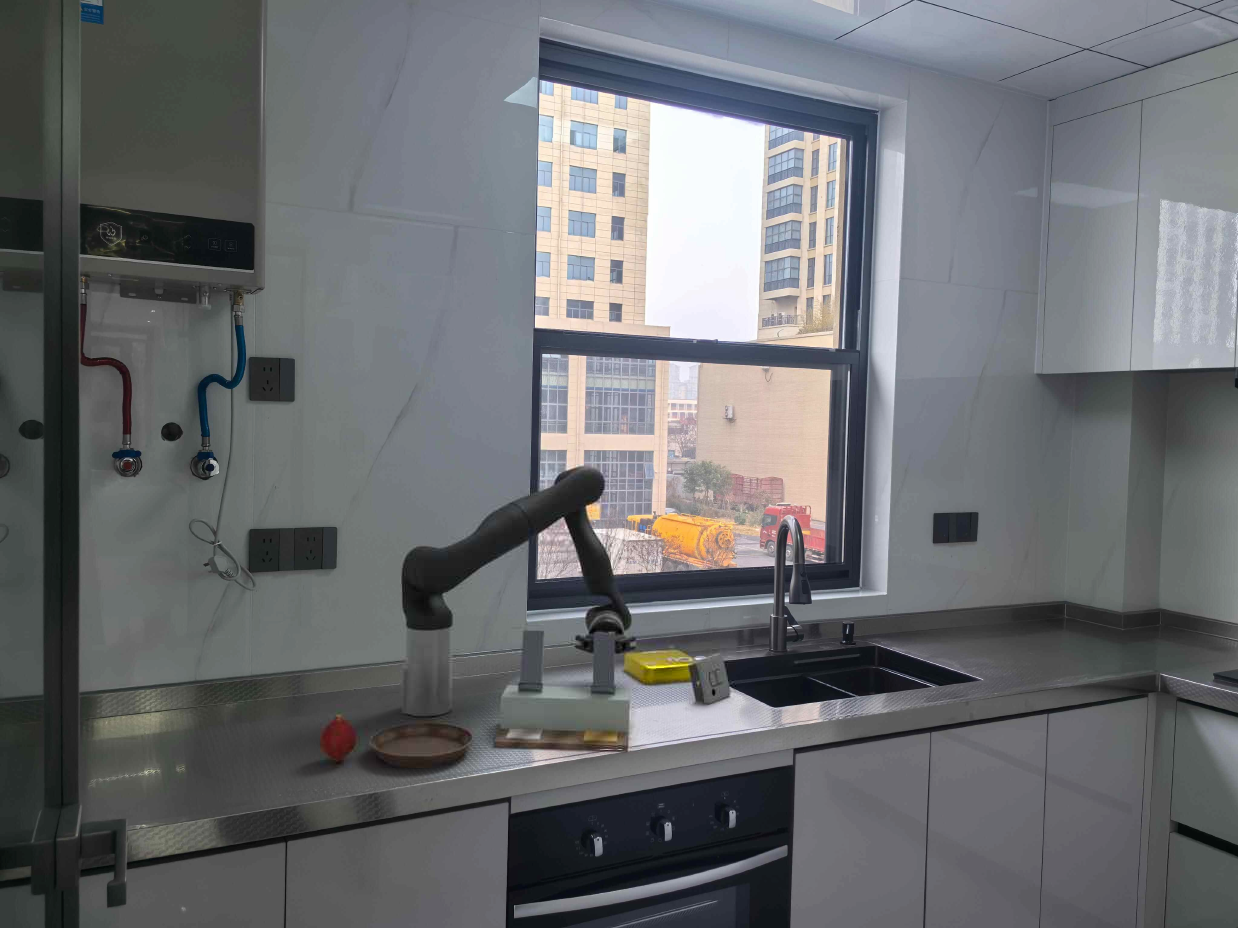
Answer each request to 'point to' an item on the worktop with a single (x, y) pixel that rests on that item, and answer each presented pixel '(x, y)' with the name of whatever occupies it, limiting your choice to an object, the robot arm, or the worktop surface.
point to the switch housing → (565, 709)
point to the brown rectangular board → (561, 739)
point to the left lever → (532, 661)
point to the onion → (338, 738)
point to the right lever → (603, 663)
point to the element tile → (659, 666)
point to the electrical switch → (709, 679)
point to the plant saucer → (421, 744)
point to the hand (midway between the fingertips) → (604, 652)
